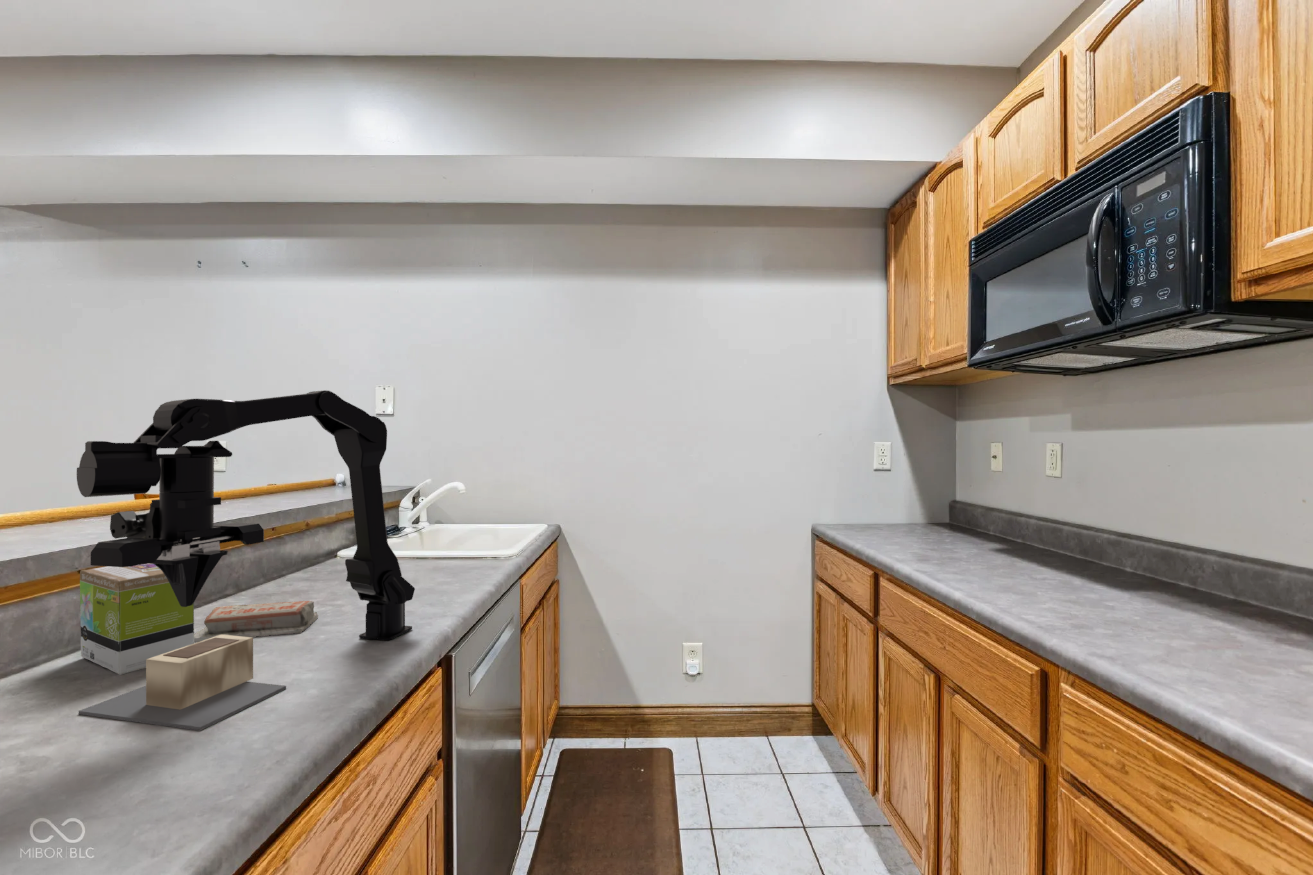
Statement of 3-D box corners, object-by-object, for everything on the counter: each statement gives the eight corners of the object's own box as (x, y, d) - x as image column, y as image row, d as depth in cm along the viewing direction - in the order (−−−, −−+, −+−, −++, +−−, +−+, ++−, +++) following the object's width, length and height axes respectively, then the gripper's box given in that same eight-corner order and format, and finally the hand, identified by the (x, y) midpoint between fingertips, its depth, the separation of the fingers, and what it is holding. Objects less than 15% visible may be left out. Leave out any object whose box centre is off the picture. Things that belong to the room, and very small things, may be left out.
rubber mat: (176, 676, 85) (176, 673, 85) (286, 688, 80) (286, 685, 80) (78, 713, 73) (78, 710, 73) (200, 730, 68) (200, 727, 68)
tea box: (77, 659, 92) (77, 568, 92) (154, 640, 101) (154, 557, 101) (117, 676, 85) (117, 578, 85) (196, 654, 94) (196, 565, 94)
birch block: (221, 633, 84) (146, 658, 75) (253, 636, 83) (180, 662, 73) (221, 674, 84) (146, 704, 75) (253, 678, 83) (180, 709, 73)
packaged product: (319, 595, 114) (301, 609, 104) (319, 619, 114) (301, 635, 104) (215, 602, 109) (187, 617, 100) (215, 627, 109) (187, 645, 100)
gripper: (208, 485, 88) (208, 586, 88) (57, 496, 70) (56, 623, 69) (267, 486, 85) (266, 590, 85) (126, 497, 67) (125, 629, 67)
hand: (186, 606), depth 77 cm, fingers closed
